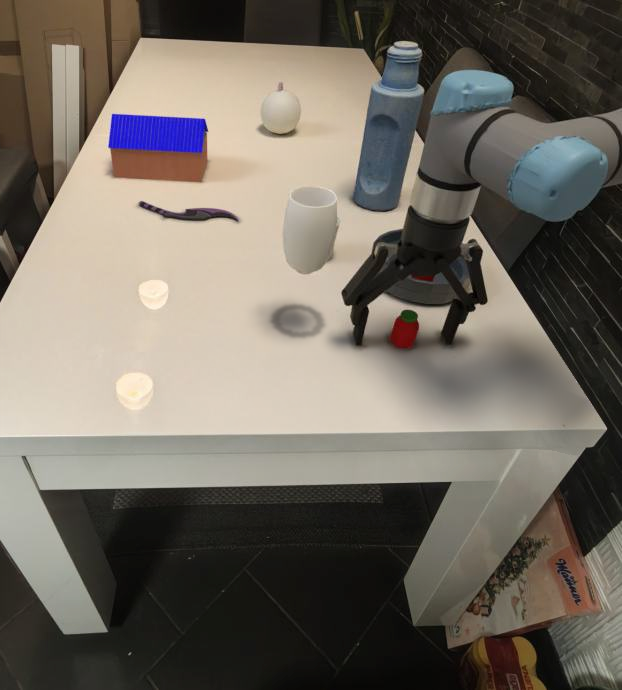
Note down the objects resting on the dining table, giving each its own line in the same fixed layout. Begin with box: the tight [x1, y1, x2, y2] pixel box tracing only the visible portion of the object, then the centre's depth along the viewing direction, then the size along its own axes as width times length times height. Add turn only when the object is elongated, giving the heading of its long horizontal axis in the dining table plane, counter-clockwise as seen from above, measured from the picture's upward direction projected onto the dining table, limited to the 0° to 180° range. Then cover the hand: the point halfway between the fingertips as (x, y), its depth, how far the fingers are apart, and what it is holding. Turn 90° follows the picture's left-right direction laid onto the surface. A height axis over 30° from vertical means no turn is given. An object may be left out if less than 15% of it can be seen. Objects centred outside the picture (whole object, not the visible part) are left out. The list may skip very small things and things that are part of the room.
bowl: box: [370, 228, 472, 305], centre depth 93 cm, size 17×17×4 cm
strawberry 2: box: [411, 275, 434, 282], centre depth 91 cm, size 4×4×5 cm
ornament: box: [260, 81, 302, 135], centre depth 140 cm, size 10×10×12 cm
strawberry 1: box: [389, 309, 420, 350], centre depth 80 cm, size 4×4×5 cm
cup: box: [282, 185, 338, 275], centre depth 78 cm, size 7×7×21 cm
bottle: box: [352, 40, 425, 212], centre depth 106 cm, size 10×10×30 cm
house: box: [107, 113, 209, 183], centre depth 121 cm, size 12×20×12 cm, turn 86°
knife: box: [138, 200, 239, 222], centre depth 109 cm, size 21×1×5 cm
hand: (401, 339), depth 82 cm, fingers open, 13 cm apart
